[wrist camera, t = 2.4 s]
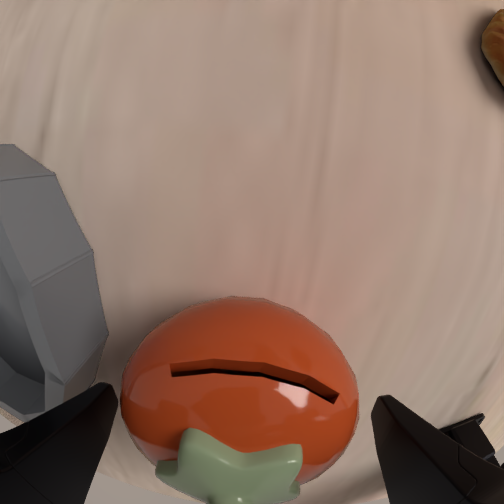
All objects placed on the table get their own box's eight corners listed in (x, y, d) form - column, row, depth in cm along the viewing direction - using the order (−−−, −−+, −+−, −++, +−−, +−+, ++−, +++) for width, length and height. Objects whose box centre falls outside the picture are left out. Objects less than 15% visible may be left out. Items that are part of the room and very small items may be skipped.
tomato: (357, 285, 10) (472, 446, 3) (301, 413, 12) (316, 552, 4) (169, 243, 10) (12, 378, 2) (158, 384, 12) (100, 517, 4)
